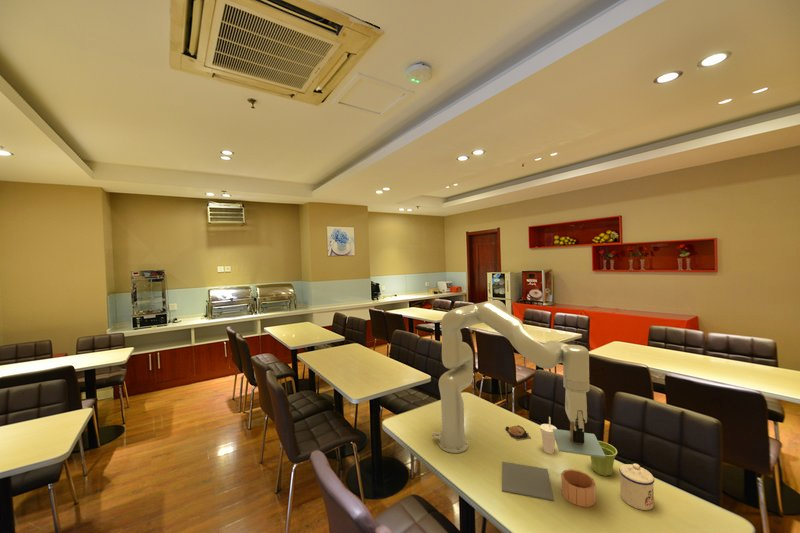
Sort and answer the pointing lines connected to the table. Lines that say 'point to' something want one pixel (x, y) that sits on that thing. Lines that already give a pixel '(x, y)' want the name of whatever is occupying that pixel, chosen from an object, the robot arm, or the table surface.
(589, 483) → the bowl
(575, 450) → the cover sheet
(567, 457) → the table surface
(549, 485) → the mat
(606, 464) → the plant pot
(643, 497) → the teacup with lid
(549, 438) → the smoothie
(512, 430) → the bread roll
